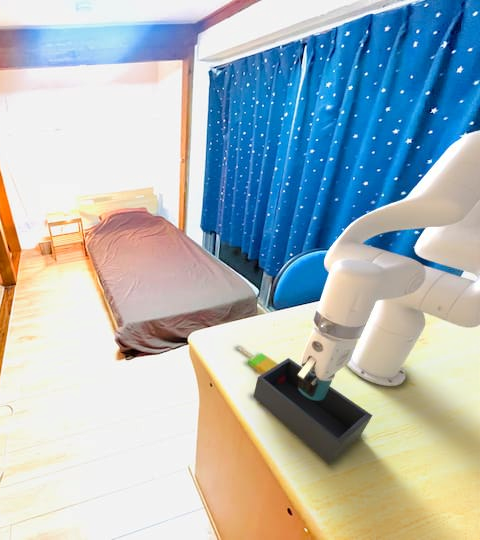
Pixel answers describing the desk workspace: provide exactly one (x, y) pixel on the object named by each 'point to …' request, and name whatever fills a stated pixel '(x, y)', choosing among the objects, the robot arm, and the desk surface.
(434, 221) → the robot arm
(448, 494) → the desk surface
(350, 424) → the bin
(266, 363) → the popsicle
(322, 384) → the paper cup
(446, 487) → the desk surface
